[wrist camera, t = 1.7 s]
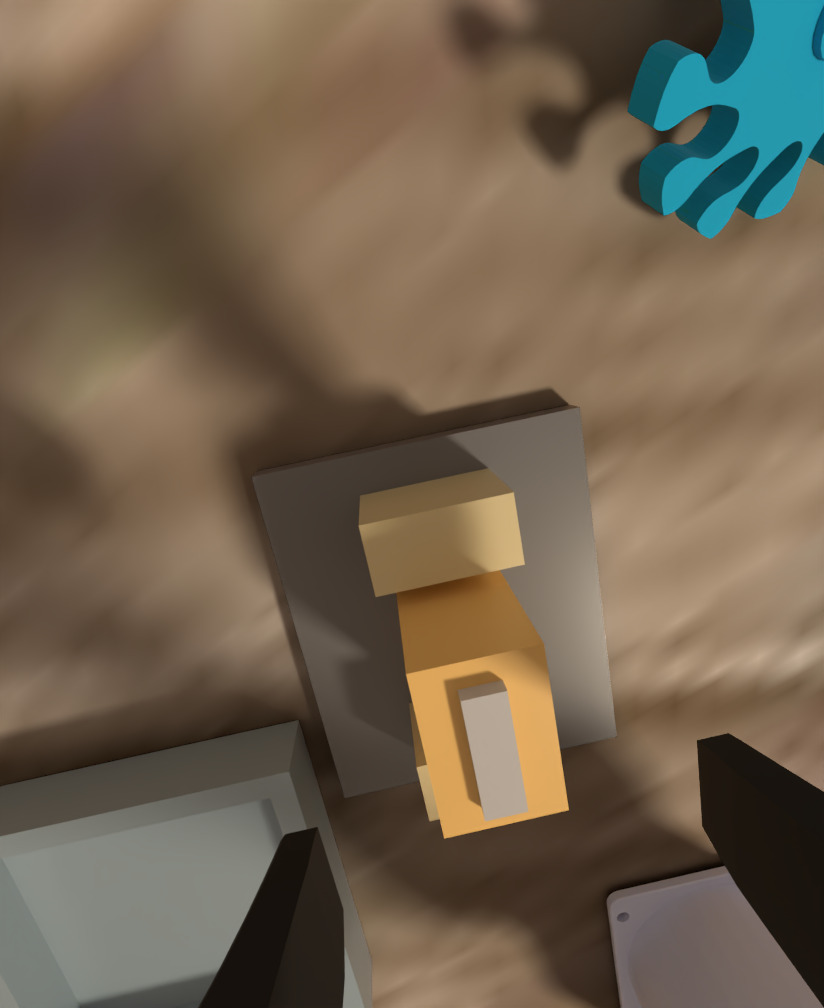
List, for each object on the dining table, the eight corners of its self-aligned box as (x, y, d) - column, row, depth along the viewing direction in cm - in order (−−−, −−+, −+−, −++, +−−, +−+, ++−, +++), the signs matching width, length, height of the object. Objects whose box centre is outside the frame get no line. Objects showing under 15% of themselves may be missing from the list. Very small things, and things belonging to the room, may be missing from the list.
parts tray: (371, 960, 23) (372, 1032, 20) (85, 1026, 23) (52, 1106, 20) (298, 720, 19) (288, 771, 17) (-38, 794, 19) (-96, 857, 17)
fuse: (507, 668, 19) (575, 824, 13) (420, 687, 19) (446, 854, 12) (485, 546, 17) (550, 653, 11) (393, 566, 17) (407, 685, 11)
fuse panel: (607, 722, 21) (659, 802, 17) (345, 781, 20) (340, 875, 17) (570, 404, 17) (624, 419, 14) (256, 471, 17) (226, 504, 13)
